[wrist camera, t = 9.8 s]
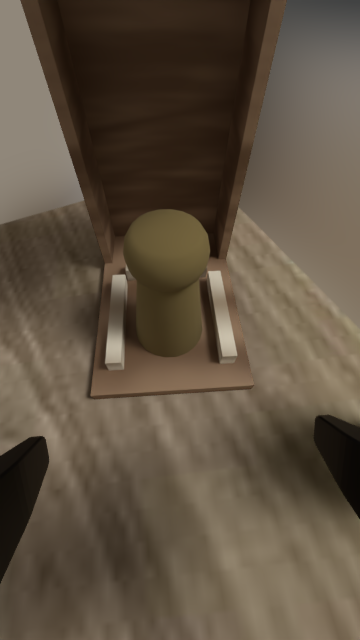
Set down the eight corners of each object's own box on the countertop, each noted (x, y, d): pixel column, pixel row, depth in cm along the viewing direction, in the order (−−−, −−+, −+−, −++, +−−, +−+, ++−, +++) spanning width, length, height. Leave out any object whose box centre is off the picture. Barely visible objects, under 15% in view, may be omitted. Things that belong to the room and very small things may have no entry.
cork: (123, 342, 23) (87, 245, 13) (154, 292, 26) (142, 184, 16) (187, 368, 21) (197, 283, 12) (211, 312, 24) (234, 209, 15)
